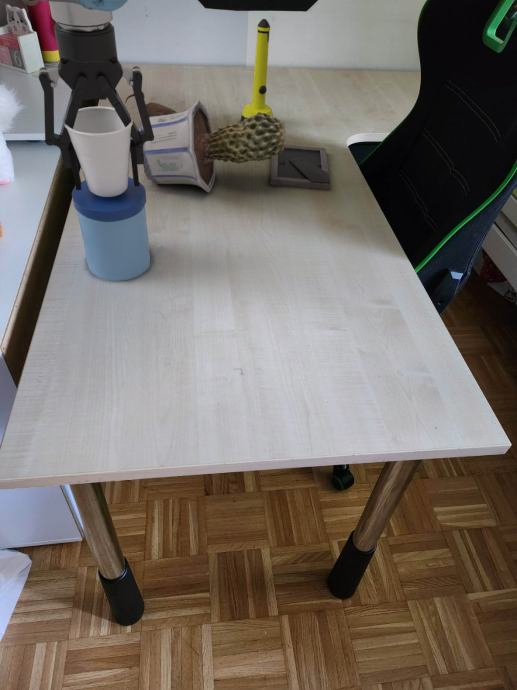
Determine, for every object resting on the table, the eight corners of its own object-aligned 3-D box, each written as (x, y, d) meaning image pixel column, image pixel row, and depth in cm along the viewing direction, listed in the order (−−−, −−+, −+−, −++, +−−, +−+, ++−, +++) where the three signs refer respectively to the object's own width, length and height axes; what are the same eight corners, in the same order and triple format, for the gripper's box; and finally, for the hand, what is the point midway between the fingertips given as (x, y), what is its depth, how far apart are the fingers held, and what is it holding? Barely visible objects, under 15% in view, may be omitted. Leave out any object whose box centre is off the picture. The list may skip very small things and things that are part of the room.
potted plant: (122, 130, 99) (278, 106, 94) (144, 99, 112) (281, 76, 107) (150, 212, 110) (290, 195, 105) (167, 175, 123) (291, 158, 119)
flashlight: (238, 14, 122) (256, 25, 117) (271, 12, 125) (290, 23, 120) (234, 120, 140) (249, 134, 135) (263, 116, 143) (279, 129, 138)
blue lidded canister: (87, 285, 89) (72, 214, 79) (85, 246, 96) (71, 176, 86) (155, 278, 91) (149, 208, 81) (148, 241, 99) (141, 172, 89)
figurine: (127, 130, 131) (123, 94, 125) (128, 122, 134) (124, 87, 128) (182, 132, 133) (181, 97, 127) (182, 124, 136) (181, 90, 130)
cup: (111, 211, 79) (101, 141, 71) (62, 191, 82) (47, 121, 74) (152, 185, 85) (147, 117, 77) (105, 167, 88) (95, 100, 80)
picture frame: (328, 190, 117) (324, 154, 130) (330, 182, 116) (326, 146, 128) (270, 185, 117) (272, 149, 130) (271, 177, 116) (272, 141, 128)
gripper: (162, 15, 71) (170, 169, 87) (-3, 13, 66) (38, 176, 83) (169, 31, 66) (177, 191, 83) (-8, 30, 62) (37, 200, 78)
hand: (107, 183), depth 83 cm, fingers closed on cup, 8 cm apart
